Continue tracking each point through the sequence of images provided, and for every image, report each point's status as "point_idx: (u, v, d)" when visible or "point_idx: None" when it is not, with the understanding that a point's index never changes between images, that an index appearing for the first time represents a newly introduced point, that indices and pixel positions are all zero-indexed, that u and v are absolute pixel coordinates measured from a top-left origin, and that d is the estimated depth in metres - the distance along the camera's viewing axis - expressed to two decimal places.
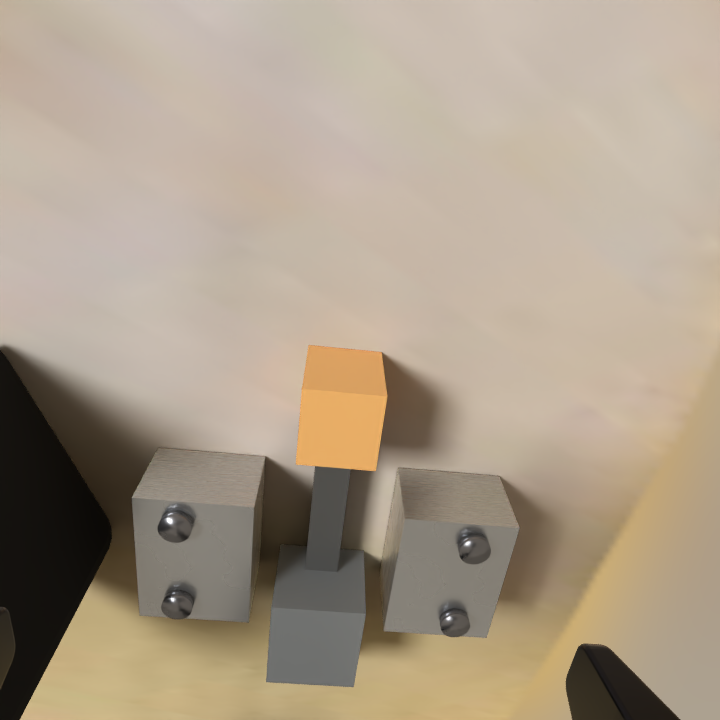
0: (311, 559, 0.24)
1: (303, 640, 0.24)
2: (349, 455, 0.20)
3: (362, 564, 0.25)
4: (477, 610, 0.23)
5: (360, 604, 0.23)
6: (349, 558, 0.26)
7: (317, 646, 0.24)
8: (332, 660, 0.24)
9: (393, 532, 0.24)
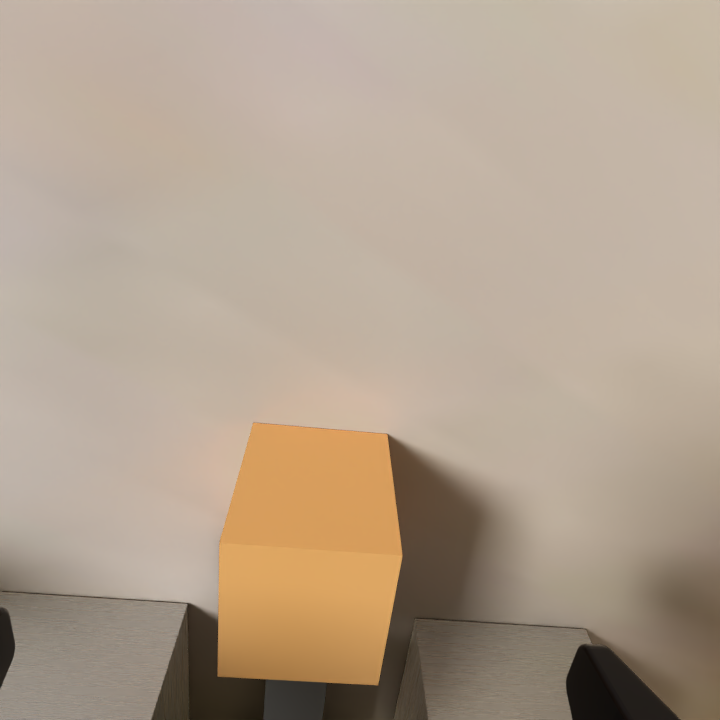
0: None
1: None
2: (325, 659, 0.10)
3: None
4: None
5: None
6: None
7: None
8: None
9: None
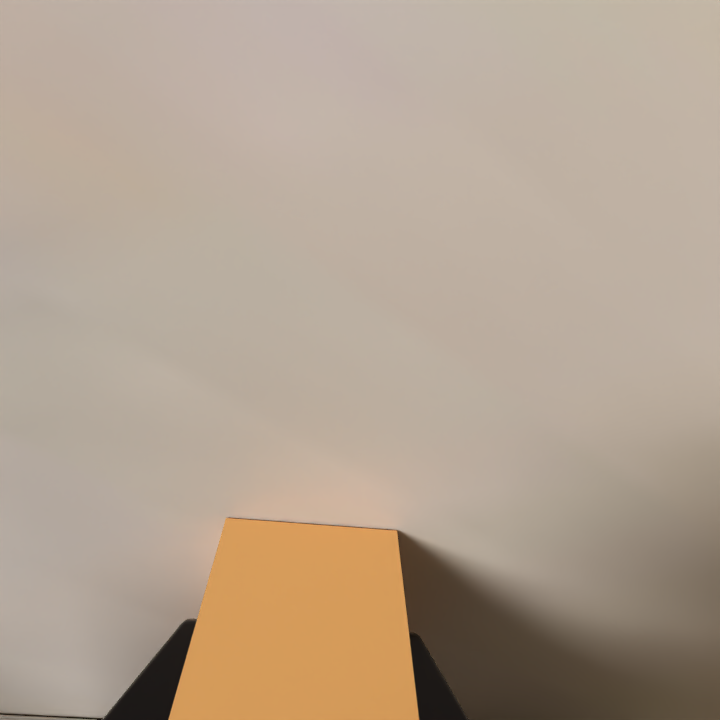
0: None
1: None
2: None
3: None
4: None
5: None
6: None
7: None
8: None
9: None
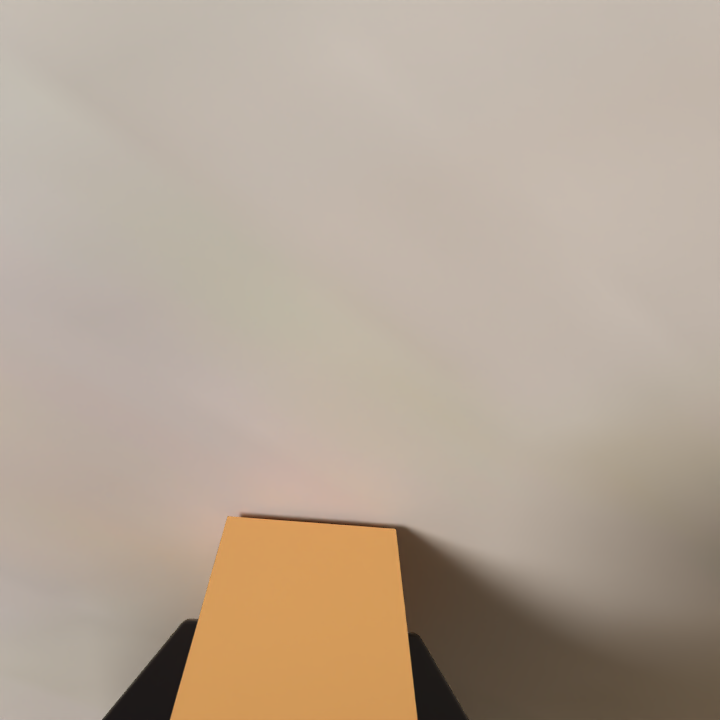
0: None
1: None
2: None
3: None
4: None
5: None
6: None
7: None
8: None
9: None
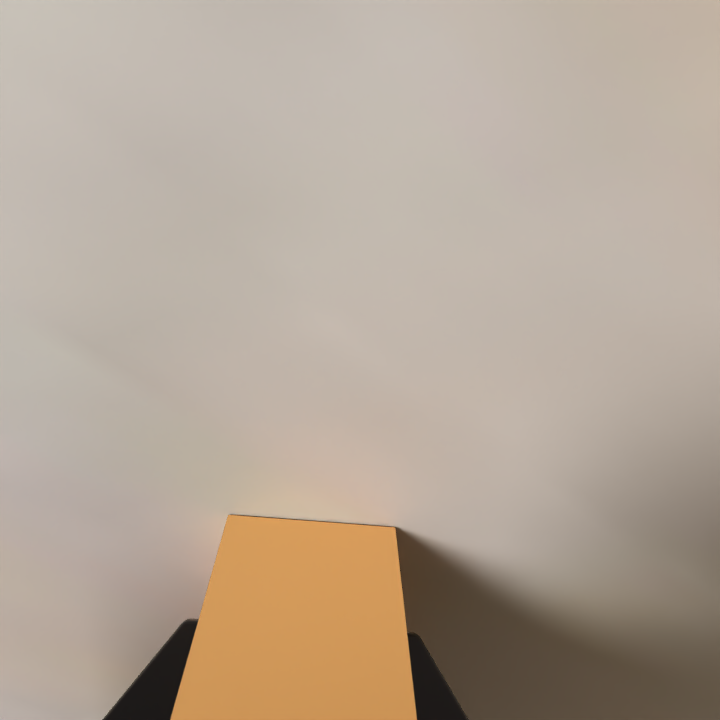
0: None
1: None
2: None
3: None
4: None
5: None
6: None
7: None
8: None
9: None
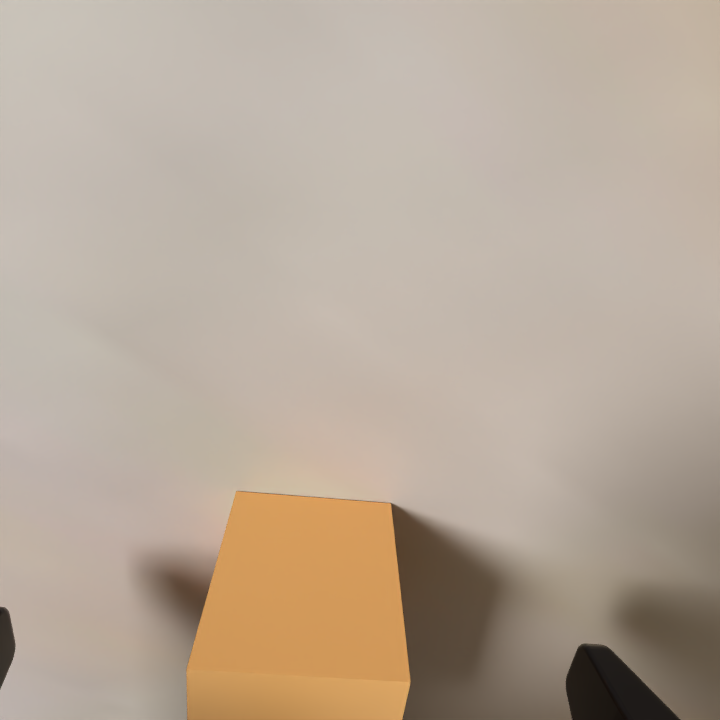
0: None
1: None
2: None
3: None
4: None
5: None
6: None
7: None
8: None
9: None
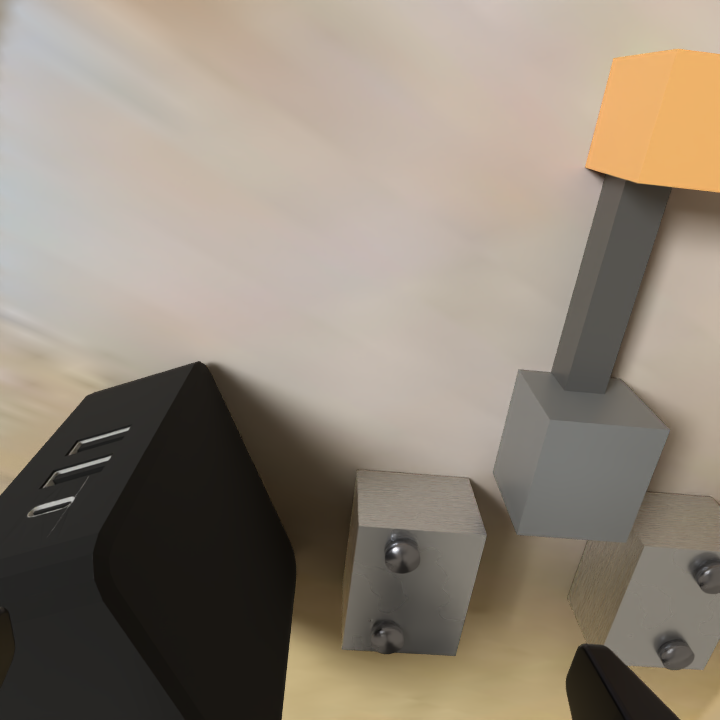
0: (575, 375, 0.19)
1: (579, 471, 0.18)
2: (714, 166, 0.14)
3: (629, 389, 0.20)
4: (700, 641, 0.22)
5: (656, 421, 0.18)
6: (609, 384, 0.20)
7: (594, 480, 0.18)
8: (609, 502, 0.19)
9: (606, 558, 0.22)
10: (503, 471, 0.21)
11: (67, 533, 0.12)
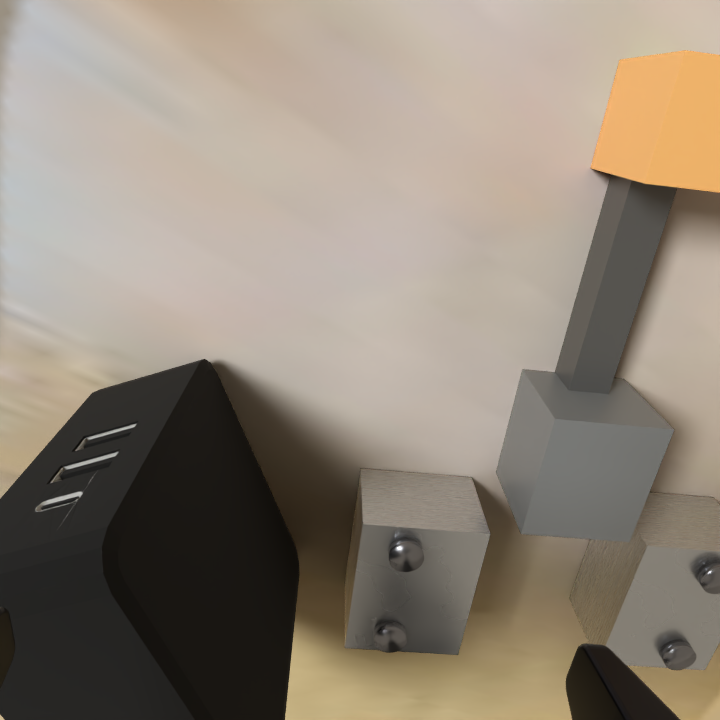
0: (579, 375, 0.19)
1: (584, 470, 0.18)
2: None
3: (632, 389, 0.20)
4: (702, 641, 0.22)
5: (660, 421, 0.18)
6: (613, 384, 0.20)
7: (598, 479, 0.18)
8: (612, 501, 0.19)
9: (608, 558, 0.22)
10: (507, 470, 0.21)
11: (76, 527, 0.12)
